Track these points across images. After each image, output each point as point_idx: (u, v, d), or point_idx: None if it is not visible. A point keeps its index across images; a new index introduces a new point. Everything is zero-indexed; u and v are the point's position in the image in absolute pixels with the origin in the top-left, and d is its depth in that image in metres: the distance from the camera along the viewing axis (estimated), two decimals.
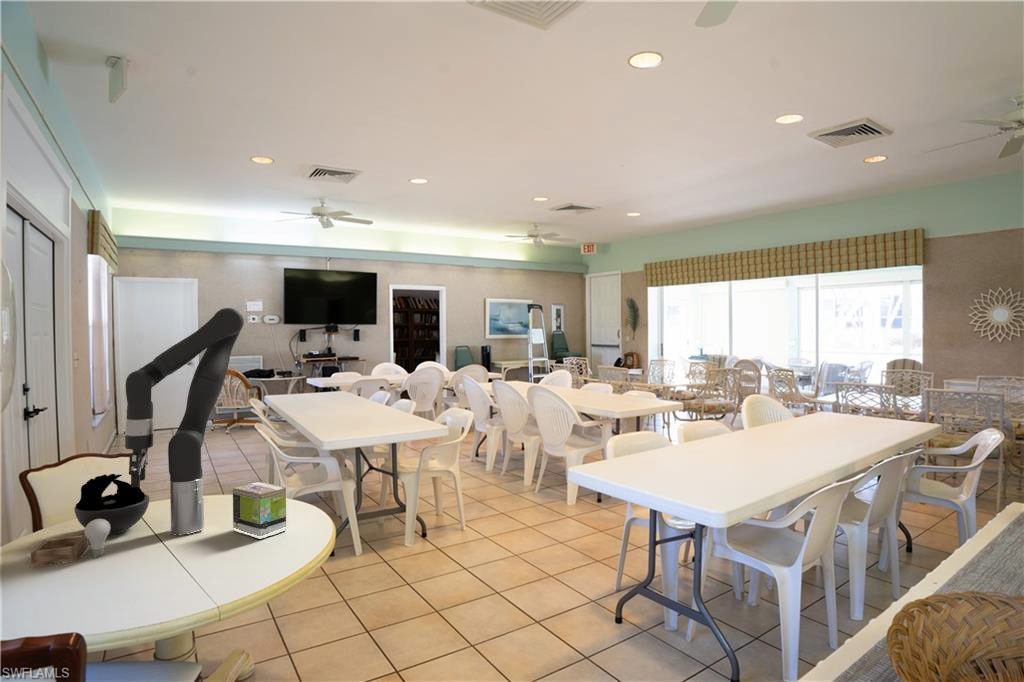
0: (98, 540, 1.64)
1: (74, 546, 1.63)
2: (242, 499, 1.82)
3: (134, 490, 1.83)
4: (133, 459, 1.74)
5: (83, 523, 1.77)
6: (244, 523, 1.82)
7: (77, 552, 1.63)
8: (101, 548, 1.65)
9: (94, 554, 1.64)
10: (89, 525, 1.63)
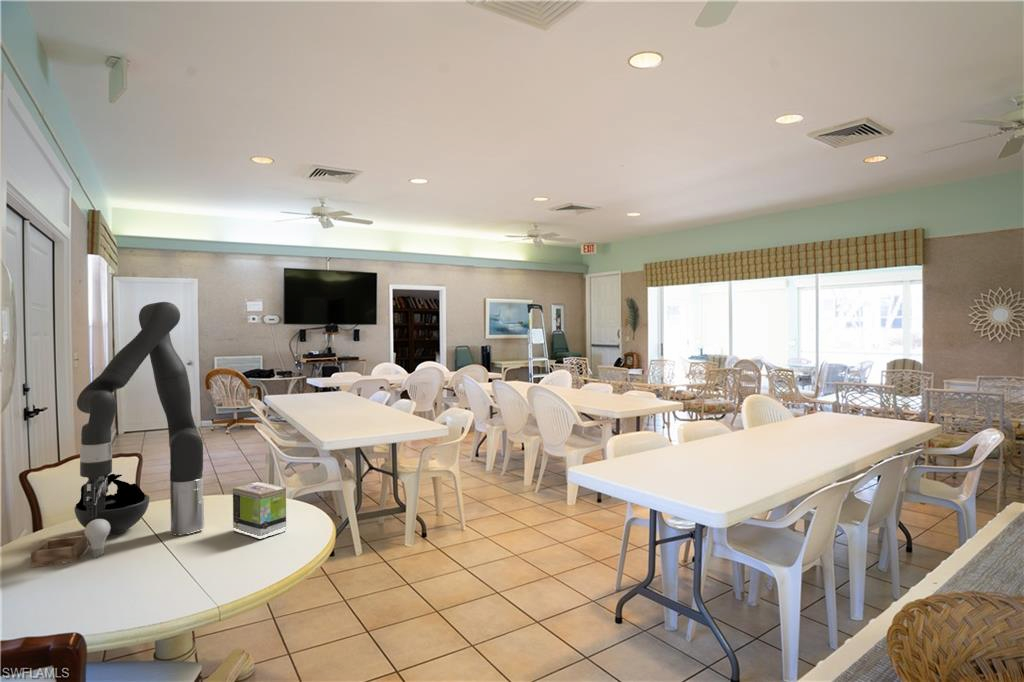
0: (98, 540, 1.64)
1: (74, 546, 1.63)
2: (242, 499, 1.82)
3: (134, 490, 1.83)
4: (88, 488, 1.59)
5: (83, 523, 1.77)
6: (244, 523, 1.82)
7: (77, 552, 1.63)
8: (101, 548, 1.65)
9: (94, 554, 1.64)
10: (89, 525, 1.63)
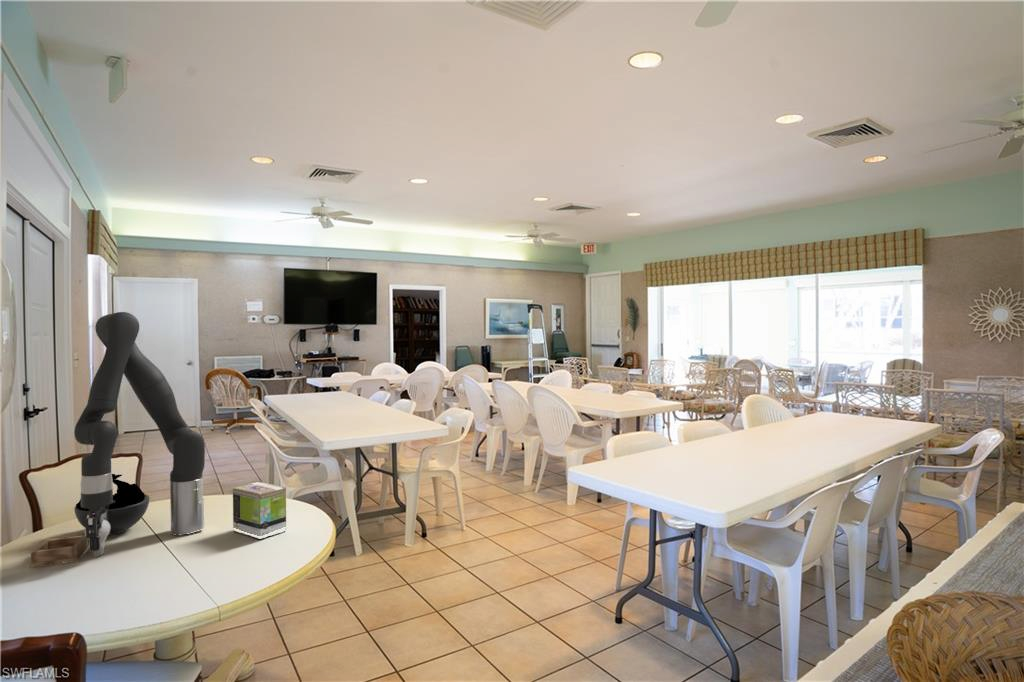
0: None
1: (74, 546, 1.63)
2: (242, 499, 1.82)
3: (134, 490, 1.83)
4: (89, 523, 1.59)
5: (83, 523, 1.77)
6: (244, 523, 1.82)
7: (77, 552, 1.63)
8: (101, 548, 1.65)
9: (94, 554, 1.64)
10: None
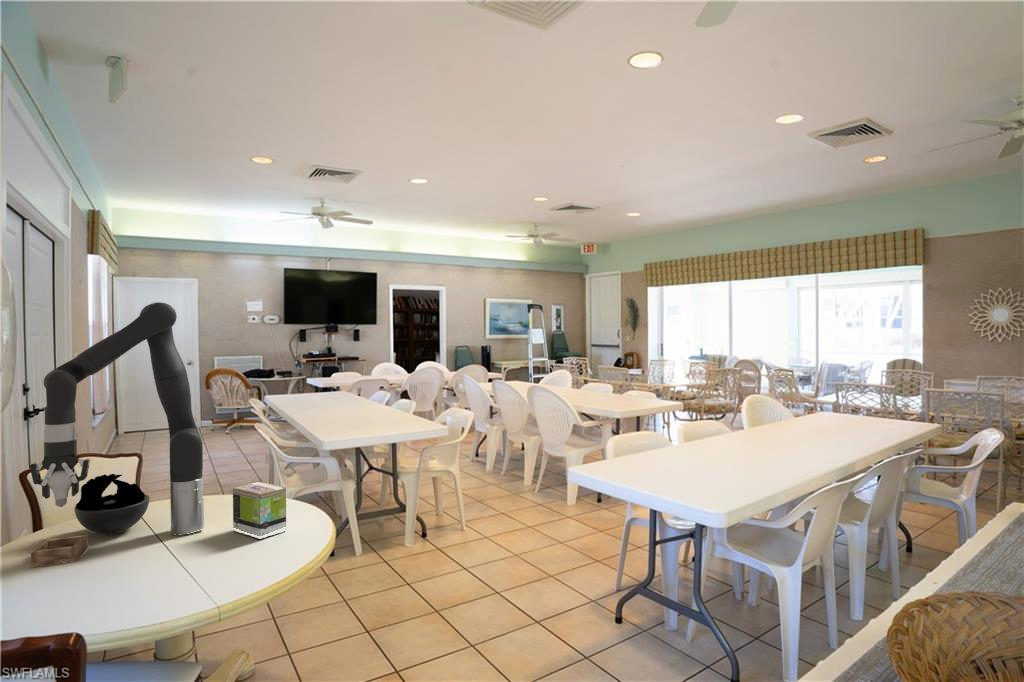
0: None
1: (74, 546, 1.63)
2: (242, 499, 1.82)
3: (134, 490, 1.83)
4: None
5: (83, 523, 1.77)
6: (244, 523, 1.82)
7: (77, 552, 1.63)
8: (56, 499, 1.64)
9: None
10: None
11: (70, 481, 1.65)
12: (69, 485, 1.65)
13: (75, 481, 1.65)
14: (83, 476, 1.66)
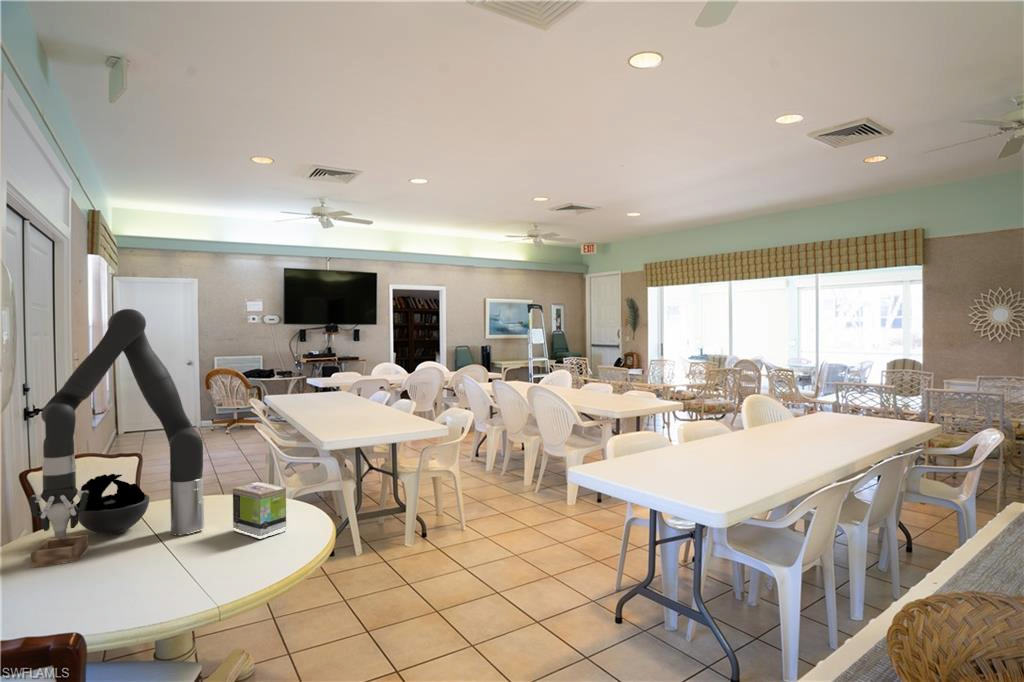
0: None
1: (74, 546, 1.63)
2: (242, 499, 1.82)
3: (134, 490, 1.83)
4: None
5: (83, 523, 1.77)
6: (244, 523, 1.82)
7: (77, 552, 1.63)
8: (55, 531, 1.64)
9: None
10: None
11: (69, 513, 1.65)
12: (68, 517, 1.65)
13: (74, 513, 1.65)
14: (82, 508, 1.66)
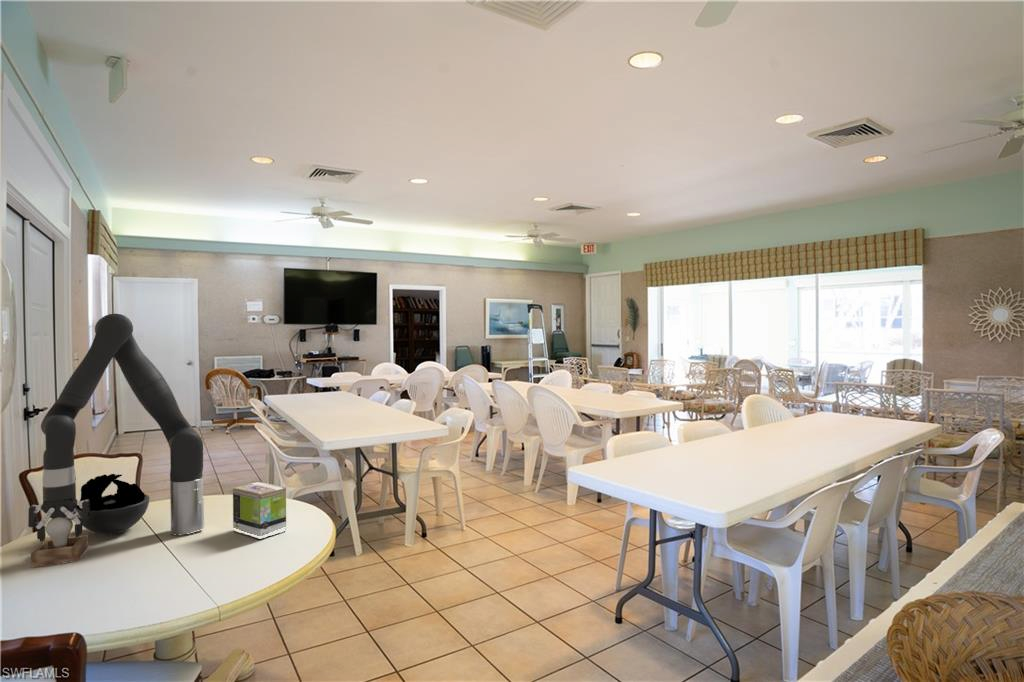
0: None
1: (74, 546, 1.63)
2: (242, 499, 1.82)
3: (134, 490, 1.83)
4: None
5: (83, 523, 1.77)
6: (244, 523, 1.82)
7: (77, 552, 1.63)
8: (55, 546, 1.64)
9: None
10: None
11: (67, 528, 1.64)
12: (67, 532, 1.64)
13: (78, 522, 1.66)
14: (85, 517, 1.66)
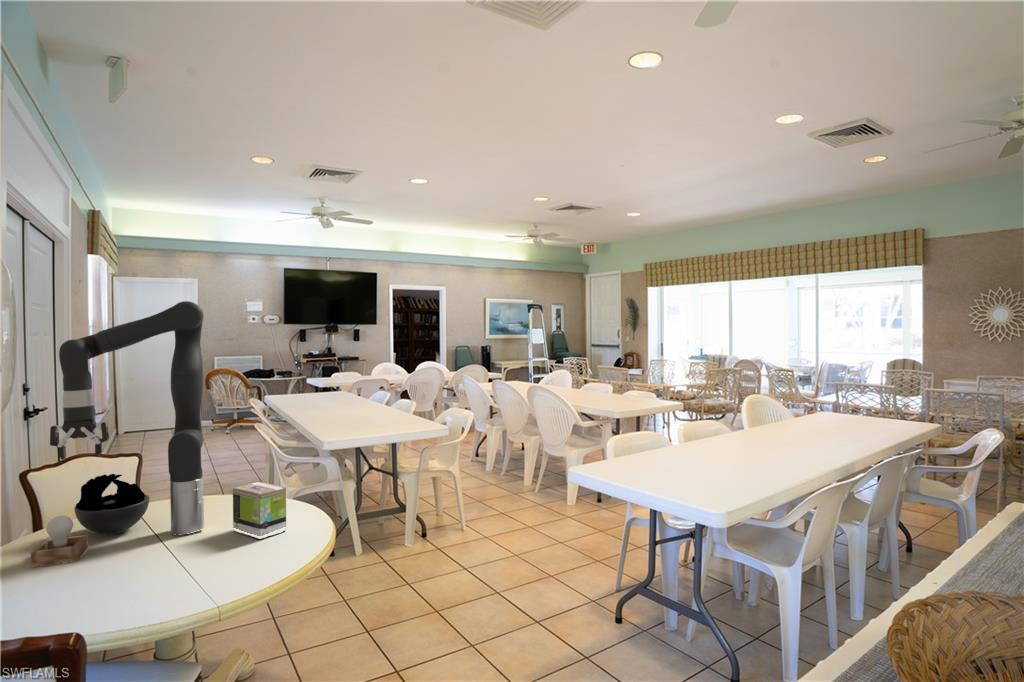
0: None
1: (74, 546, 1.63)
2: (242, 499, 1.82)
3: (134, 490, 1.83)
4: None
5: (83, 523, 1.77)
6: (244, 523, 1.82)
7: (77, 552, 1.63)
8: (55, 546, 1.64)
9: None
10: None
11: (68, 528, 1.64)
12: (67, 532, 1.65)
13: (98, 442, 1.74)
14: (105, 437, 1.75)
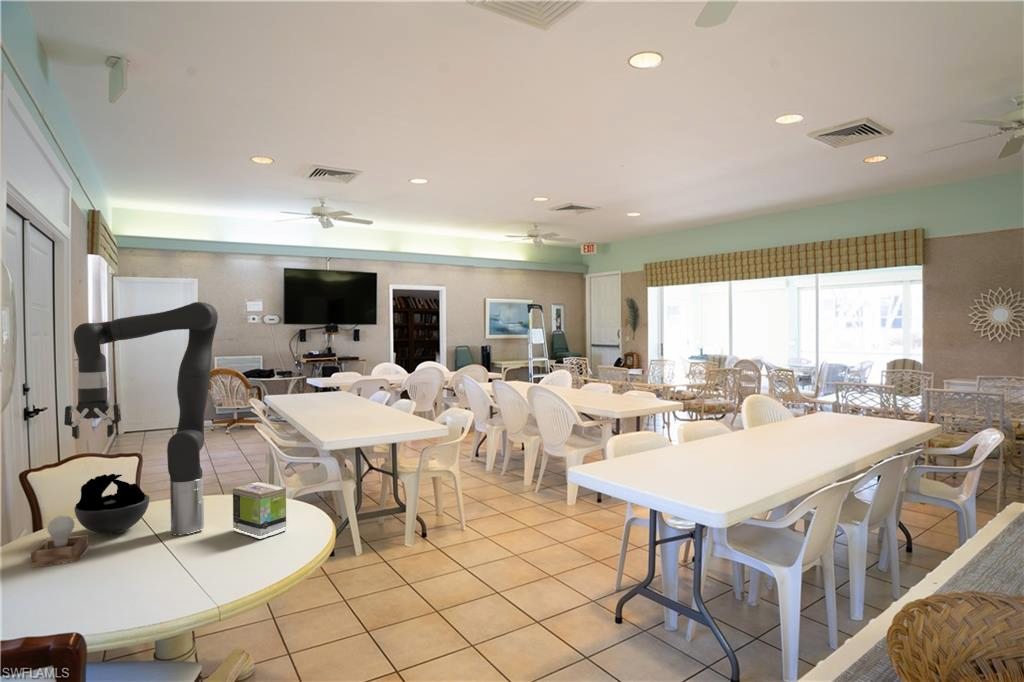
0: (51, 536, 1.64)
1: (74, 546, 1.63)
2: (242, 499, 1.82)
3: (134, 490, 1.83)
4: None
5: (83, 523, 1.77)
6: (244, 523, 1.82)
7: (77, 552, 1.63)
8: (55, 546, 1.64)
9: None
10: None
11: (69, 528, 1.65)
12: (68, 532, 1.65)
13: (110, 423, 1.80)
14: (117, 418, 1.81)
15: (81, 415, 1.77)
